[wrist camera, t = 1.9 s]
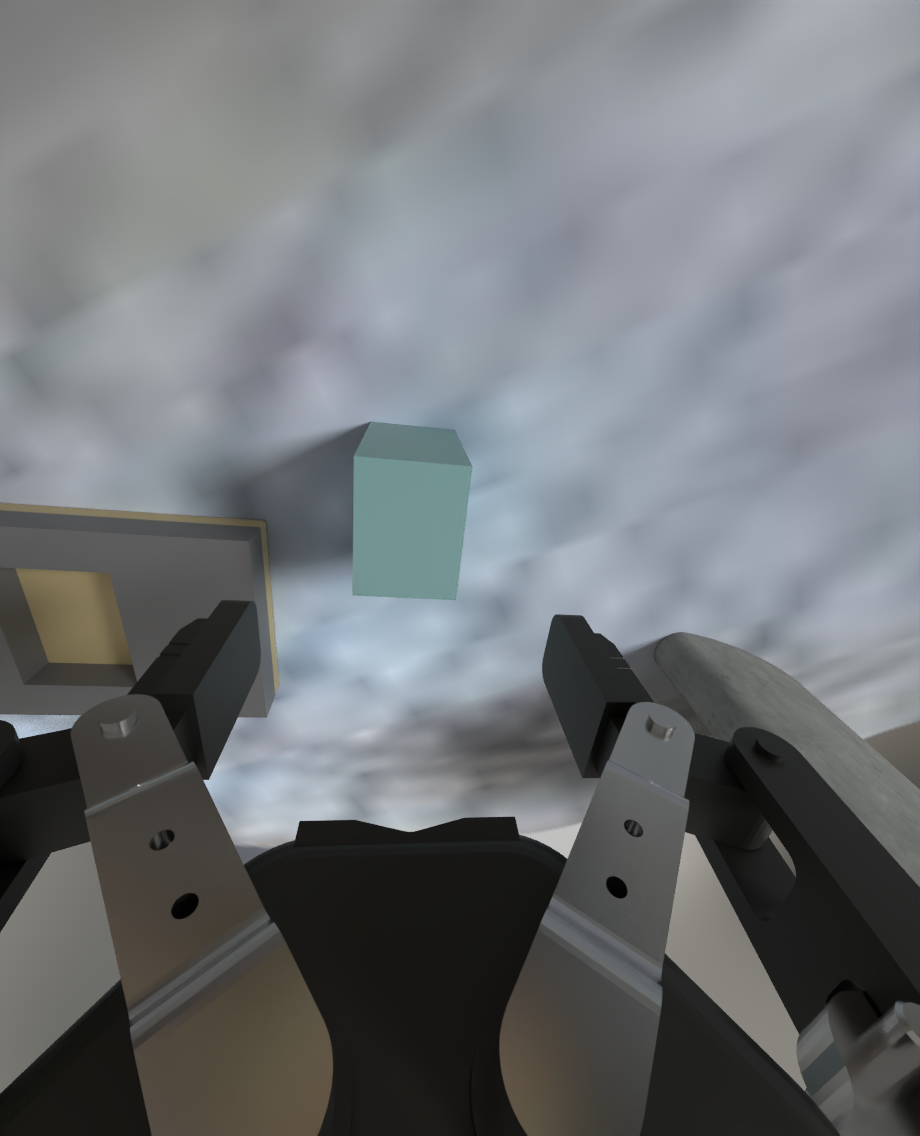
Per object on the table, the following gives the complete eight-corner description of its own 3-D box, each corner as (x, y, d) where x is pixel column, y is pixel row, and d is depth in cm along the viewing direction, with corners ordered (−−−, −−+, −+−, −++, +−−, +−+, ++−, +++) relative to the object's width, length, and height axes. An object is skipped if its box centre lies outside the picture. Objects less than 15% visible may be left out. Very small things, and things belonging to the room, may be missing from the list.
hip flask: (645, 659, 33) (913, 1026, 16) (681, 616, 32) (1022, 967, 14) (790, 722, 38) (1124, 1062, 20) (827, 688, 36) (1223, 1021, 19)
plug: (370, 421, 24) (353, 455, 17) (454, 429, 25) (472, 466, 18) (368, 527, 27) (352, 595, 20) (444, 532, 27) (455, 600, 20)
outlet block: (-144, 493, 23) (-216, 513, 21) (265, 520, 26) (248, 541, 23) (-54, 677, 29) (-102, 712, 26) (279, 685, 31) (266, 717, 29)
